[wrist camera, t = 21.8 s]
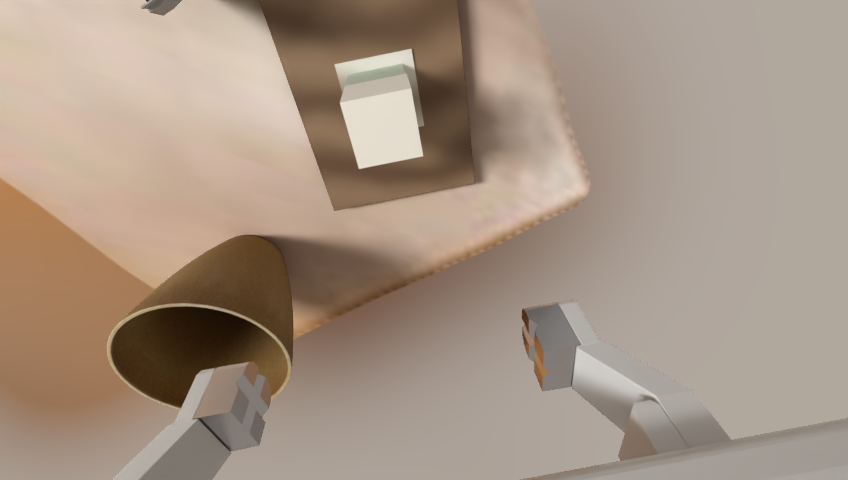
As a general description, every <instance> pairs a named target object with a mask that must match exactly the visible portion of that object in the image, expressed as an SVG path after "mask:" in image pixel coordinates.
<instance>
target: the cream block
mask: <svg viewBox="0 0 848 480" xmlns="http://www.w3.org/2000/svg"><path fill="white" fill-rule="evenodd" d="M340 105H341V109H342V112H343V116H344V119H345V123H346V126H347V130H348V133H349V136H350V140H351V143H352V147H353V150H354V154H355V157H356V160H357V164H358V167H359V169H362V168H367V167H372V166H377V165H382V164H387V163H392V162H397V161H402V160H407V159H412V158H417V157H422V156H423V152H422V146H421V141H420V135H419V129H418V124H417V118H416V113H415V107H414V101H413V96H412V90H411V86H410V83H409V80H408V77H407V73H406V74H401V75H396V76H391V77H386V78H381V79H376V80H371V81H366V82H362V83H357V84H352V85H347V86H345V87H344V90H343V94H342V97H341V100H340Z"/></svg>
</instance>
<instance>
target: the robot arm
mask: <svg viewBox="0 0 848 480" xmlns="http://www.w3.org/2000/svg"><path fill="white" fill-rule="evenodd" d="M522 319H523V322H524V324H525V325H524V326H523V327H522V336H523V341H524V346H525V349H526V352H527V354H528V357H529V359H531V360H532V361H533V362H534V372H535V374H536V377H537V379H538V382H539V384H540V387H541V389H542V391H548V390H554V389H560V388H566V387H572V389H573V390H575V391H576V392H577V393H578V394H580V395H581V396H582V397H583V398H584V399H585V400H587V401H588V402H589V403H590V404H591V405H593V406H594V407H595V408H596V409H597V410H598V411H600V412H601V413H602V414H603V415H605V416H606V417H607V418H608V419H609V420H610V421H611V422H613V423H614V424H615V425H616V426H617V427H619V428H620V429H621V430H622V431H623V432H625V435H624V438H623V441H622V445H621V448H620V451H619V455H618V456H619V459H620V461H617V462H612V463H607V464H602V465H597V466H591V467H586V468H581V469H575V470H570V471H564V472H559V473H554V474H549V475H543V476H538V477H532V478H527V479H522V480H848V418H846V419H841V420H835V421H830V422H824V423H820V424H814V425H809V426H803V427H798V428H793V429H788V430H782V431H777V432H771V433H766V434H761V435H755V436H750V437H745V438H740V439H734V440H731V439H730V438H729V436H728V435H727V434H726V432H725V431H724V430H723V429H722V427H721V426H720V425H719V423H718V422H717V421H716V420H715V418H714V417H713V416H712V414H711V413H710V412H709V410H708V409H707V408H706V407H705V405H704V404H703V403H702V401H701V400H700V399H699V397H698V396H697V395H696V394H695V392H694V391H693V390H691V389H689V388H688V387H686V386H684V385H683V384H681V383H679V382H677V381H676V380H674V379H672V378H670V377H669V376H667V375H665V374H664V373H662V372H660V371H658V370H657V369H655V368H653V367H651V366H650V365H648V364H646V363H645V362H643V361H641V360H639V359H637V358H636V357H634V356H632V355H631V354H629V353H627V352H625V351H624V350H622V349H620V348H618V347H617V346H615V345H613V344H612V343H610V342H608V341H601V340H600V339H599V337H598V335H597V334H596V332H595V331H594V329H593V327H592V326H591V324H590V323H589V321H588V320H587V318H586V316H585V315H584V313H583V312H582V310H581V308H580V307H579V305H578V304H577V302H576V301H575V300H574V299H569V300H564V301H559V302H552V303H548V304H543V305H538V306H533V307H528V308H524V309H522ZM258 371H259V367H258V366H257V365H256V363H255V362H246V363H240V364H234V365H228V366H222V367H217V368H212V369H206V370H201V371H200V372H199V373H198V374H197V375H196V377H195V379H194V382H193V384H192V386H191V388H190V390H189V392H188V395H187V397H186V399H185V401H184V403H183V405H182V408H181V410H180V412H179V414H178V416H177V418H176V420H175V423H173V424H169V425H168V426H167V427H166V428H165V429H164V430H163V431H162V432H161V433H160V434H159V435H158V436H157V437H156V438H155V439H153V440H152V441H151V442H150V443H149V444H148V445H147V446H146V447H145V448H144V449H143V450H142V451H141V452H140V453H139V454H138V455H137V456H136V457H135V458H134V459H133V460H132V461H131V462H130V463H129V464H128V465H127V466H126V467H125V468H123V469H122V470H121V471H120V472H119V473H118V474H117V475H116V476H115V477H114V478H113V479H112V480H212V479H213V478H214V476H215V475H216V474H217V472H218V471H219V469H220V468H221V466H222V465H223V464H224V462H225V461H226V460H227V458H228V457H229V456H230V454H231V451H236V450H240V449H245V448H250V447H254V446H259V445H260V441H261V437H262V433H263V430H264V425H265V421H264V420H263V418H262V416H263V415H264V414H265V412H266V411H267V410H268V409H269V406H270V401H271V388H270V385H269V382H268V380H267V379H266V377H264V376H262V375H259V374H258Z"/></svg>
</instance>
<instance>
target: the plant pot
mask: <svg viewBox="0 0 848 480" xmlns="http://www.w3.org/2000/svg"><path fill="white" fill-rule="evenodd" d="M107 355H108V359H109V362H110V365H111V366H112V368H113V370H114V371H115V373H116V374H117V375H118V376H119V377H120V378H121V379H122V380H123V381H124V382H125V383H126V384H127V385H129V386H130V387H131V388H132V389H134V390H135V391H136V392H138V393H140V394H141V395H143V396H145V397H147V398H148V399H151V400H153V401H155V402H158V403H160V404H163V405H166V406H169V407H172V408H175V409H178V410H181V408H182V405H183V403H184V401H185V399H186V397H187V395H188V392H189V390H190V388H191V386H192V384H193V382H194V379H195V377H196V375H197V374H198V373H199V372H200V371H201V370H206V369H212V368H217V367H222V366H228V365H234V364H240V363H246V362H255V363H256V365H257V366H258V367H259V371H258V374H259V375H262V376H264V377H266V379H267V380H268V382H269V385H270V388H271V400H272V399H274V398H275V397H276V396H278V395H279V394H280V393H281V392H282V391H283V389H284V388H285V387H286V385H287V384H288V382H289V380H290V376H291V372H292V358H293V308H292V297H291V289H290V283H289V278H288V273H287V269H286V266H285V262H284V259H283V256H282V254H281V252H280V251H279V249H278V248H277V247H276V246H275V245H274V244H272V243H271V242H269V241H268V240H266V239H263V238H261V237H258V236H252V235H242V236H237V237H234V238H232V239H229V240H227V241H225V242H223V243H222V244H220V245H218V246H216V247H214V248H212V249H211V250H209V251H207V252H205V253H204V254H202V255H201V256H199V257H198V258H196V259H194V260H193V261H191V262H190V263H189V264H187V265H186V266H184V267H183V268H182V269H180V270H179V271H178V272H176V273H175V274H174V275H172V276H171V277H170V278H169V279H167V280H166V281H165V282H164V283H162V284H161V285H160V286H159V287H158V288H156V289H155V290H154V291H153V292H152V293H151V294H150V295H149V296H148V297H146V298H145V299H144V300H143V301H142V302H141V303H140V304H139V305H138V306H137V307H135V308H134V309H133V310H132V311H131V312H130V313H129V314H128V315H127V316H126V317H125V318H124V319H123V320H122V321H121V322H120V323H119V324H118V325H117V326H116V327H115V328H114V329H113V331H112V332H111V334H110V336H109V338H108V343H107Z"/></svg>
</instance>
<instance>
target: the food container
mask: <svg viewBox="0 0 848 480" xmlns="http://www.w3.org/2000/svg"><path fill="white" fill-rule="evenodd" d="M146 1H147V3H146V4H144V5H143V6H141V9H148V11H149V12H150V13H154V14H159V15H165V14H166V13H168V12H169V11H171V10H172V9H174V8H175V7H176V6H177V5H178V4H179V3H180V2H181V1H182V0H146Z"/></svg>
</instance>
